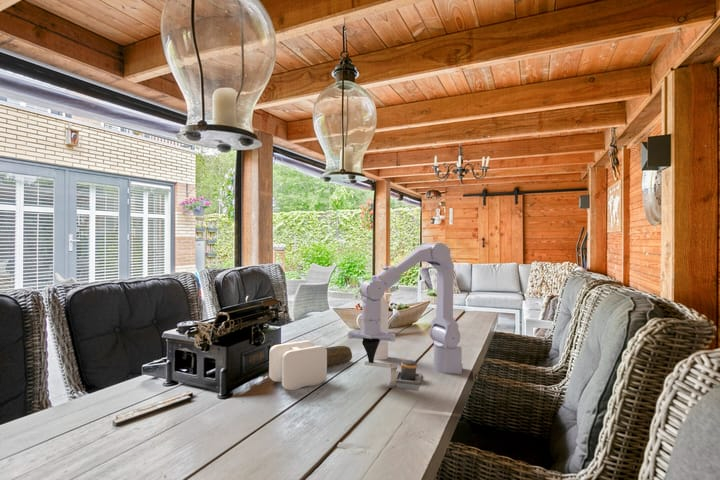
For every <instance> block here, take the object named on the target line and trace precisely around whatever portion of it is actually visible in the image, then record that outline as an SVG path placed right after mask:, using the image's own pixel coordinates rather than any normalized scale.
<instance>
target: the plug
mask: <svg viewBox="0 0 720 480" xmlns="http://www.w3.org/2000/svg"><path fill="white" fill-rule="evenodd" d="M400 365H401V366H400V371H401V379H403V380H410V381H414V380H415V378H416V373H417V365H418V364H417V362H416V361H413V360H410V359H404V360H401V363H400Z"/></svg>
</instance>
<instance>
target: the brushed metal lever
mask: <svg viewBox="0 0 720 480" xmlns="http://www.w3.org/2000/svg"><path fill="white" fill-rule="evenodd" d="M364 366H370V367H378V368H388V369H390V370H391V369H396V370H397V369H398V364H396V363H383V362H375V361H374V362H369V360H365V361H364Z"/></svg>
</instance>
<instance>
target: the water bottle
mask: <svg viewBox="0 0 720 480" xmlns="http://www.w3.org/2000/svg"><path fill="white" fill-rule="evenodd" d="M385 297H392V293H391V292H385V293H384V296H383V297H382V298H381V332H384V333H389V308H390V307H389V303H388V301H387V300H386V298H385ZM388 358H389V341H385V340H380V342H379V345H378V347H377V350H376V353H375V356H374V360H378V361H379V360H380V361H381V360H387V359H388Z"/></svg>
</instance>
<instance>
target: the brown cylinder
mask: <svg viewBox="0 0 720 480" xmlns="http://www.w3.org/2000/svg"><path fill="white" fill-rule="evenodd" d="M325 348H326V349H327V368H330V367H335V366H340V365H343V364H345V363H348V362H350V361H352V358H353V353H352V349H351V347H349V346H347V345H335V346H329V347H325Z"/></svg>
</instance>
